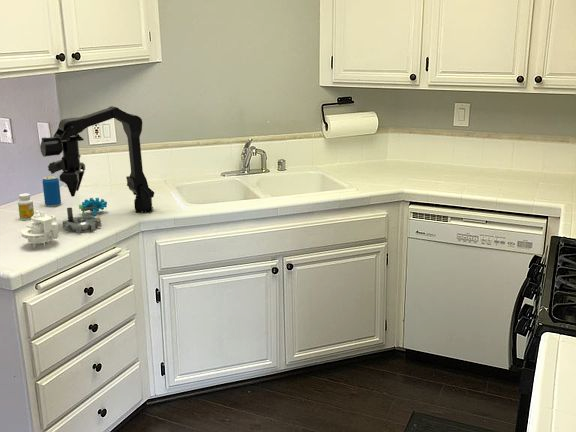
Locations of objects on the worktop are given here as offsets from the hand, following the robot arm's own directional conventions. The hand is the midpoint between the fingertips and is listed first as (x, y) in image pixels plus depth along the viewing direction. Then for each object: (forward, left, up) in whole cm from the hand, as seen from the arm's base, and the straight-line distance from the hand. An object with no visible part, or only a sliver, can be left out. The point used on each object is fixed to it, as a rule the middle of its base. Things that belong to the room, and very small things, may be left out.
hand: (74, 193), depth 246 cm
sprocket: (-3, +7, -12) cm, 14 cm away
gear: (-4, -13, -12) cm, 18 cm away
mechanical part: (+8, +23, -12) cm, 27 cm away
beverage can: (+15, -27, -12) cm, 33 cm away
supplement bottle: (+21, -9, -12) cm, 26 cm away
